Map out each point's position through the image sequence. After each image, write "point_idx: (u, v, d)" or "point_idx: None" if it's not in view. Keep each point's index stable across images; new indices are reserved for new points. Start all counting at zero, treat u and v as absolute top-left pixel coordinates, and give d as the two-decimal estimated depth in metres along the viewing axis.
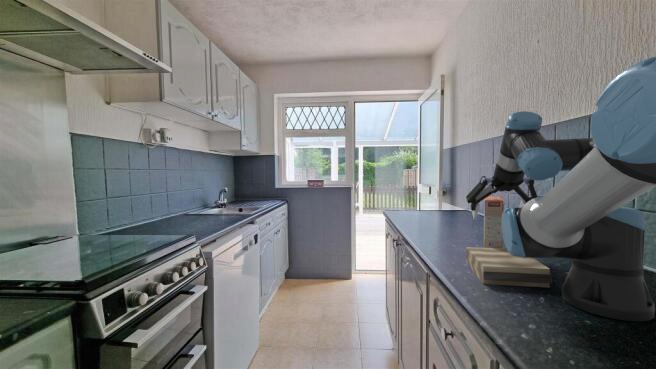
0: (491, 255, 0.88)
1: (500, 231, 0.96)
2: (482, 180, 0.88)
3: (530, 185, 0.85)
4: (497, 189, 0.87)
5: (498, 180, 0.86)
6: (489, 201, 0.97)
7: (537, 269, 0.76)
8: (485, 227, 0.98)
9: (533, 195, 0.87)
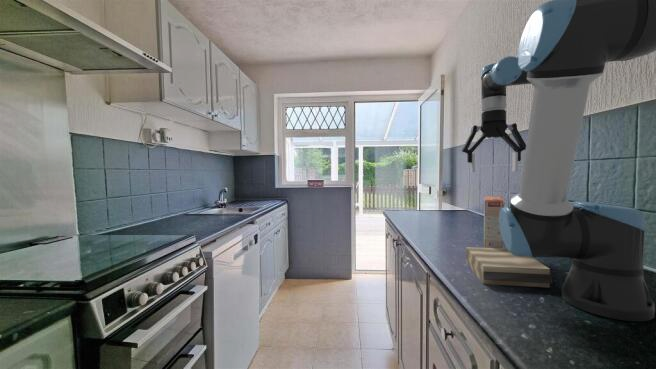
0: (491, 255, 0.88)
1: (500, 231, 0.96)
2: (472, 127, 1.02)
3: (514, 129, 0.98)
4: (487, 133, 1.00)
5: (486, 125, 1.00)
6: (489, 201, 0.97)
7: (537, 269, 0.76)
8: (485, 227, 0.98)
9: (520, 140, 0.98)
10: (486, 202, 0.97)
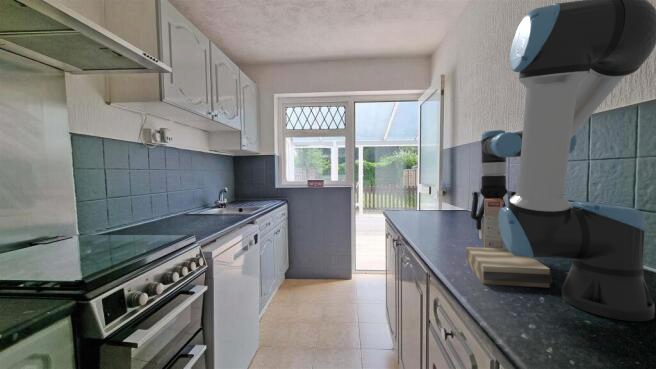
0: (491, 255, 0.88)
1: None
2: (473, 194, 1.03)
3: (512, 197, 1.00)
4: (488, 198, 1.01)
5: (485, 188, 1.02)
6: (489, 201, 0.97)
7: (537, 269, 0.76)
8: (485, 227, 0.98)
9: None
10: (486, 202, 0.97)
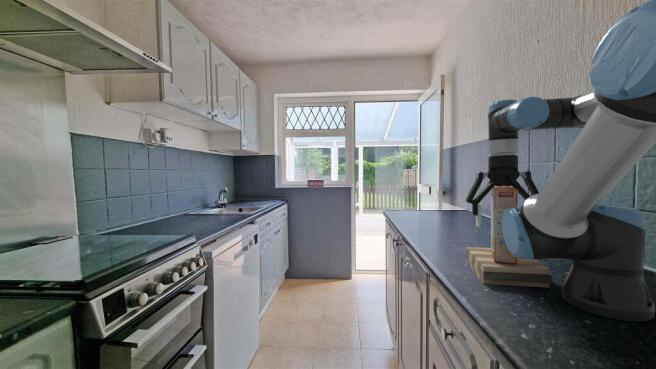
0: (491, 255, 0.88)
1: None
2: (478, 174, 0.86)
3: (528, 178, 0.83)
4: (495, 182, 0.84)
5: (494, 171, 0.84)
6: (500, 190, 0.80)
7: (537, 269, 0.76)
8: (495, 222, 0.81)
9: (534, 192, 0.82)
10: (496, 192, 0.80)
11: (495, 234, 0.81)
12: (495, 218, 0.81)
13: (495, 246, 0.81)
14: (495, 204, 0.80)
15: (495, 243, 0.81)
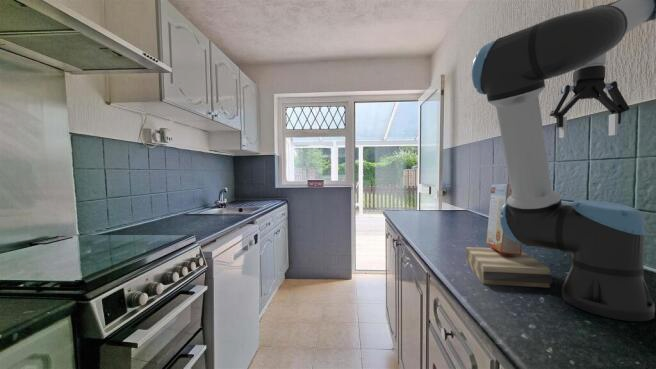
0: (491, 255, 0.88)
1: None
2: (564, 87, 0.92)
3: (614, 88, 0.88)
4: (582, 93, 0.90)
5: (580, 84, 0.90)
6: None
7: (537, 269, 0.76)
8: None
9: (621, 100, 0.88)
10: (508, 186, 0.85)
11: None
12: None
13: (503, 238, 0.85)
14: (506, 198, 0.85)
15: (503, 235, 0.85)
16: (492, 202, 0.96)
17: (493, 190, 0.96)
